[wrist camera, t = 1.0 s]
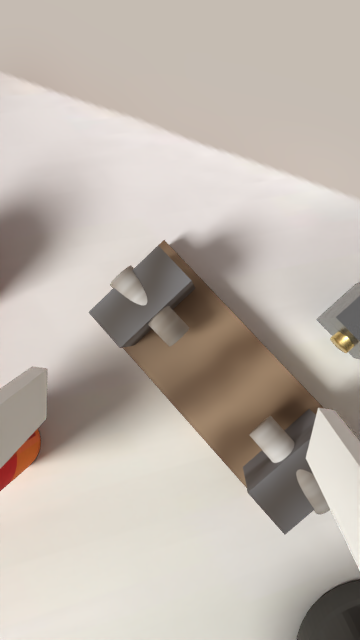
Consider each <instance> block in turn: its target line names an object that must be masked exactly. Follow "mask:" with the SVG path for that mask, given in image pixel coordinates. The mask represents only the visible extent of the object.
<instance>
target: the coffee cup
mask: <svg viewBox="0 0 360 640" xmlns="http://www.w3.org/2000/svg"><path fill="white" fill-rule="evenodd" d="M40 445H41V439H40V434H39V431H38V428H37V430H36V431H35V432H34V433H33V434H32V435H31V436H30V437H29V438H28V439H27V440H26V441H25V443H24V444H23V445H22V446H21V447H20V448H19V449H18V450H17V451H16V452H15V453H14V454H13V456H12V457H11V458H10V459H9V460H8V461H7V462H6V463H5V464H4V465H3V466H2V467H1V468H0V491H1V490H2V489H3V488H4V487H6V486H7V485H8V484H9V483H10V482H11V481H13V480H14V479H15V478H16V477H17V476H18V475H19V474H21V473H22V472H23V471H24V470H25V469H26V468H27V467H28V466H29V465H30V464H31V463H32V462H33V461H34V460H35V459H36V457H37V455H38V453H39V450H40Z"/></svg>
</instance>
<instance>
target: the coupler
mask: <svg viewBox="0 0 360 640" xmlns="http://www.w3.org/2000/svg"><path fill="white" fill-rule="evenodd" d="M316 320H317V321H318V322H319V323H320V324H321V325H322V326H323V327H324V328H325V329H326V330H327V331H328V332H329V333H330V334H331V335H332V337H331V338H330V340H331V341H332V343H333V344H334V345H335V346H336V347H337V348H339V349H340V350H341V351H343V352H344V353H347V352H349V353H350V354H351V355H352V356H353V357H354V358H356V359H360V283H357V284H355V285H354V286H353V287H352V288H351V289H350V290H348V291H347V292H346V293H345V294H344V295H343V296H342V297H341V298H340V299H338V300H337V301H336V302H335V303H334V304H333V305H332V306H331V307H330V308H328V309H327V310H326V311H325V312H324V313H323V314H322V315H321V316H320V317H318V318H317V319H316Z"/></svg>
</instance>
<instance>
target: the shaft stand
mask: <svg viewBox="0 0 360 640" xmlns="http://www.w3.org/2000/svg"><path fill="white" fill-rule="evenodd" d="M110 286H111V287H112V288H113V289H112V290H111V291H110V292H109V293H108V294H107V295H106V296H105V297H104V298H103V299H102V300H101V301H100V302H99V303H98V304H97V305H96V306H95V307H94V308H93V309H92V310H90V311H89V313H90V315H91V316H92V317H93V318H94V319H95V320H96V321H97V322H98V324H99V325H100V326H101V327H102V328H103V329H104V330H105V331H106V333H107V334H108V335H109V336H110V337H111V338H112V339H113V341H114V342H115V343H116V344H117V345H118V346H119V347H120V348H123V349H124V350H125V351H126V352H127V353H128V354H129V355H130V356H131V358H132V359H133V360H134V361H135V362H136V363H137V364H138V366H139V367H140V368H141V369H142V370H143V371H144V372H145V373H146V375H147V376H148V377H149V378H150V379H151V380H152V381H153V382H154V384H155V385H156V386H157V387H158V388H159V389H160V390H161V392H162V393H163V394H164V395H165V396H166V397H167V398H168V399H169V401H170V402H171V403H172V404H173V405H174V406H175V407H176V409H177V410H178V411H179V412H180V413H181V414H182V415H183V416H184V418H185V419H186V420H187V421H188V422H189V423H190V424H191V425H192V427H193V428H194V429H195V430H196V431H197V432H198V433H199V435H200V436H201V437H202V438H203V439H204V440H205V441H206V442H207V444H208V445H209V446H210V447H211V448H212V449H213V450H214V451H215V453H216V454H217V455H218V456H219V457H220V458H221V459H222V461H223V462H224V463H225V464H226V465H227V466H228V467H229V468H230V470H231V471H232V472H233V473H234V474H235V475H236V476H237V478H238V479H239V480H240V481H241V482H242V483H243V484H244V485H245V487H246V488H247V491H248V493H249V495H250V496H251V497H252V498H253V499H254V500H255V501H256V503H257V504H258V505H259V506H260V507H261V508H262V509H263V510H264V512H265V513H266V514H267V515H268V516H269V517H270V518H271V520H272V521H273V522H274V523H275V524H276V525H277V526H278V527H279V529H280V530H281V531H282V532H283V533H284V534H286V533H287V532H288V531H290V530H291V529H292V528H293V527H294V526H296V525H297V524H298V523H299V522H300V521H301V520H303V519H304V518H305V517H306V516H307V515H308V514H310V513H311V512H312V511H313V510H314V511H315V512H316V513H317V514H323V513H325V512H327V511H329V510H330V508H329V506H328V504H327V502H326V500H325V497H324V495H323V493H322V491H321V489H320V487H319V485H318V483H317V481H316V479H315V477H314V474H313V472H312V470H311V468H310V466H309V464H308V462H307V460H306V455H307V451H308V447H309V443H310V438H311V434H312V430H313V426H314V422H315V418H316V414H317V410H318V408H323V407H322V406H321V405H320V404H319V403H318V402H317V401H316V399H315V398H314V397H313V396H312V395H311V394H310V393H309V392H308V391H307V390H306V389H305V388H304V387H303V386H302V385H301V384H300V383H299V382H298V381H297V379H296V378H295V377H294V376H293V375H292V374H291V373H290V372H289V371H288V370H287V369H286V368H285V367H284V366H283V365H282V364H281V363H280V362H279V361H278V359H277V358H276V357H275V356H274V355H273V354H272V353H271V352H270V351H269V350H268V349H267V348H266V347H265V346H264V345H263V344H262V343H261V342H260V340H259V339H258V338H257V337H256V336H255V335H254V334H253V333H252V332H251V331H250V330H249V329H248V328H247V327H246V326H245V325H244V324H243V323H242V322H241V320H240V319H239V318H238V317H237V316H236V315H235V314H234V313H233V312H232V311H231V310H230V309H229V308H228V307H227V306H226V305H225V304H224V303H223V302H222V300H221V299H220V298H219V297H218V296H217V295H216V294H215V293H214V292H213V291H212V290H211V289H210V288H209V287H208V286H207V285H206V284H205V283H204V282H203V280H202V279H201V278H200V277H199V276H198V275H197V274H196V273H195V272H194V271H193V270H192V269H191V268H190V267H189V266H188V265H187V264H186V263H185V261H184V260H183V259H182V258H181V257H180V256H179V255H178V254H177V253H176V252H175V251H174V250H173V249H172V248H171V247H170V246H169V245H168V244H167V243H166V241H165V240H164V241H163V242H162V243H161V244H159V245H158V246H157V247H156V248H155V249H154V250H153V251H152V252H151V253H150V254H149V255H148V256H147V257H146V258H145V259H144V260H143V261H142V262H141V263H140V264H138V265H137V266H136V267H135V268H133V267H132V266H129V267H127V268H126V269H125V270H123V271H122V272H121V273H120V274H119V275H118V276H117V277H116V278H115V279H114V280H113V281H112V283H111V284H110Z"/></svg>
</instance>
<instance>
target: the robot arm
mask: <svg viewBox="0 0 360 640" xmlns="http://www.w3.org/2000/svg"><path fill="white" fill-rule="evenodd" d="M46 419H47V369H46V368H39V367H31V368H29V369H28V370H27V371H25V372H24V373H22V374H21V375H19V376H18V377H16V378H15V379H14V380H12V381H11V382H9V383H8V384H6V385H5V386H3V387H2V388H0V468H1V467H2V466H3V465H4V464H5V463H6V462H7V461H8V460H9V459H10V458H11V457H12V456H13V454H14V453H15V452H16V451H17V450H18V449H19V448H20V447H21V446H22V445H23V444H24V443H25V441H26V440H27V439H28V438H29V437H30V436H31V435H32V434H33V433H34V432H35V431H36V430H37V428H38V427H39V426H40V425H41V424H42V423H43V422H44V421H45V420H46ZM306 460H307V462H308V464H309V466H310V468H311V470H312V472H313V474H314V477H315V479H316V481H317V483H318V485H319V487H320V489H321V491H322V493H323V495H324V497H325V500H326V502H327V504H328V506H329V508H330V510H331V512H332V514H333V516H334V518H335V520H336V523H337V525H338V527H339V529H340V531H341V533H342V535H343V537H344V539H345V541H346V543H347V546H348V548H349V550H350V552H351V554H352V556H353V558H354V560H355V562H356V564H357V566H358V569H359V571H360V441H359V440H358V439H357V437H356V436H355V435H354V434H353V432H352V431H351V430H350V429H349V427H348V426H347V425H346V424H345V422H344V421H343V420H342V419H341V417H340V416H339V415H338V414H337V412H336V411H335V410H331V409H324V408H318V410H317V414H316V418H315V422H314V426H313V430H312V434H311V438H310V443H309V447H308V451H307V455H306ZM297 640H360V580H359V581H354V582H350V583H347V584H344V585H341V586H339V587H336V588H334V589H333V590H331V591H329V592H328V593H326V594H325V595H324V596H322V597H321V598H320V599H319V600H318V601H317V602H316V603H315V604H314V605H313V606H312V607H311V609H310V610H309V611H308V613H307V614H306V616H305V618H304V620H303V622H302V624H301V626H300V629H299V632H298V636H297Z"/></svg>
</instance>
